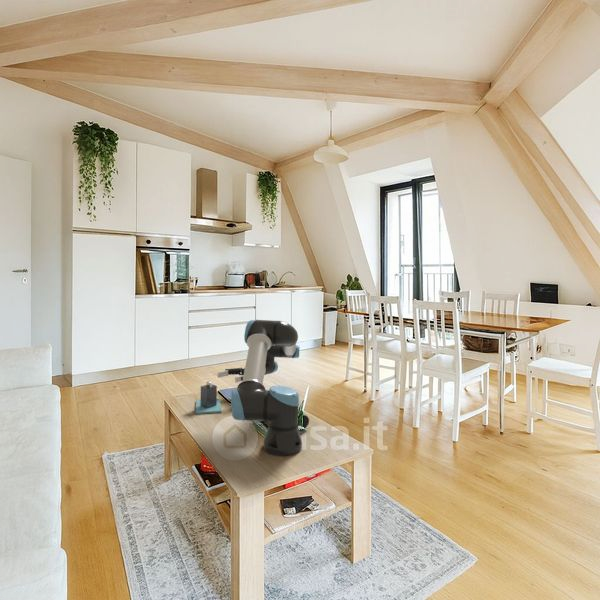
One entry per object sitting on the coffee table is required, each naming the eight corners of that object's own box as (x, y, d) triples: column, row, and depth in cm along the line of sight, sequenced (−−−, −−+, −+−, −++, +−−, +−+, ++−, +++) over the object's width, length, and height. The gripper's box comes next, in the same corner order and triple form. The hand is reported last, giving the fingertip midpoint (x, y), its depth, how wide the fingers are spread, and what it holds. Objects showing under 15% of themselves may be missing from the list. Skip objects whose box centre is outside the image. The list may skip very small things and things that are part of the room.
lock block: (206, 408, 182) (207, 384, 181) (200, 406, 185) (200, 382, 184) (216, 405, 187) (216, 382, 186) (210, 403, 190) (210, 380, 189)
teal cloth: (221, 412, 180) (221, 410, 180) (195, 414, 177) (195, 412, 176) (219, 400, 197) (219, 398, 197) (196, 401, 194) (196, 399, 194)
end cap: (309, 429, 164) (309, 414, 164) (295, 432, 160) (296, 417, 160) (296, 421, 173) (297, 407, 172) (283, 424, 169) (284, 409, 168)
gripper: (272, 381, 202) (243, 389, 185) (240, 372, 217) (211, 379, 200) (272, 367, 201) (243, 374, 184) (240, 360, 216) (211, 366, 200)
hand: (226, 377), depth 192 cm, fingers open, 13 cm apart
